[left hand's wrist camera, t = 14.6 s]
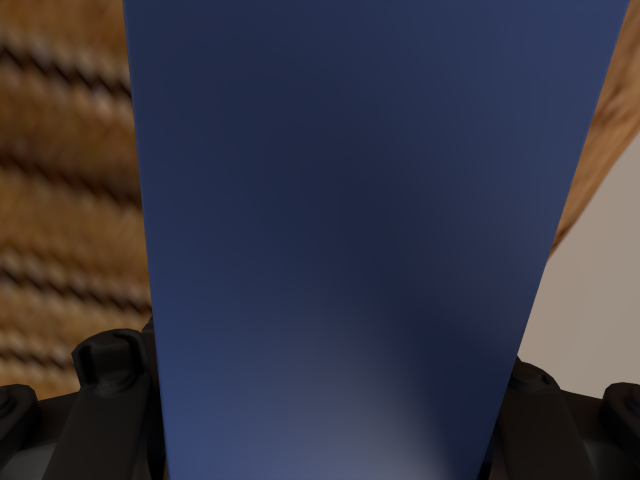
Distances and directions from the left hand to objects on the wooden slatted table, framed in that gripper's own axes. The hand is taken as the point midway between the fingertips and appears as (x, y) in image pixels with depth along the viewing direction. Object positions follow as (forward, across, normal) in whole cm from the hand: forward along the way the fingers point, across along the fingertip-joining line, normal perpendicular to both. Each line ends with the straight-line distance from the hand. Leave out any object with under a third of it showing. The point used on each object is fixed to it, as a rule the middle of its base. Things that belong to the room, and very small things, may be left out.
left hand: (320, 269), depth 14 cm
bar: (+1, -1, -10) cm, 10 cm away
